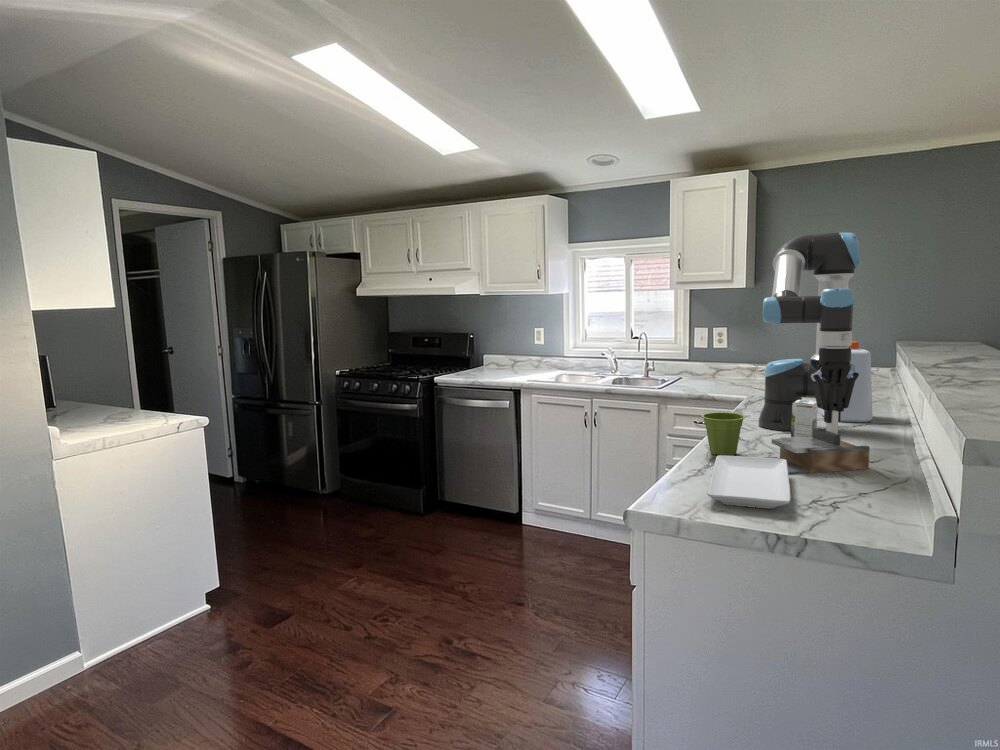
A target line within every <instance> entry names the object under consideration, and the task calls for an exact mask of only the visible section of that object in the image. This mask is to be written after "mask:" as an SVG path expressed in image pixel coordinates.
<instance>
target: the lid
mask: <svg viewBox="0 0 1000 750" xmlns="http://www.w3.org/2000/svg"><path fill="white" fill-rule="evenodd" d="M780 438H781V439H780ZM780 438H771V444H773V445H775V446H777V447H779V448H780V447H782V448H784V449H787V450H789V451H792V452H794V453H807V452H809V449H816V448H833V447H842V445H840V440H841V435H840V434H839V433H838V434H835V433H832V432H829V431H826V429H823V428H819V427H817V428H813V432H812V437H797V438H785V437H780Z"/></svg>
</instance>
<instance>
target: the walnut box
mask: <svg viewBox="0 0 1000 750" xmlns="http://www.w3.org/2000/svg"><path fill="white" fill-rule="evenodd" d="M802 437H812V436H802ZM781 438H782V437H780V438H779V439H781ZM784 438H797V437H791V436H790V437H789V436H787V437H784ZM840 445H842V447H833V448H816V449H809V452H807V453H794V452H792V451H789V450H787V449H784V448H782V447H779V458H780V459H785V460H786V461H787V462H789V463H792V464H794V465H796V466H798V467H800V468H803V469H805V470H807V471H808V472H809V473H813V474H815V473H814V472H816V473H828V472H843V471H857V470H856V469H861V470H869V467H870V446H869V445H855V444H852V443H849V442H847V441H843V440H841V439H840Z"/></svg>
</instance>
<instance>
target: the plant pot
mask: <svg viewBox="0 0 1000 750" xmlns="http://www.w3.org/2000/svg"><path fill="white" fill-rule="evenodd" d="M701 418H702V419H703V421H704V425H705V429H706V437H707V441H708V446H709V447H708V448H709V452H710V454H712V455H713V454H714V455H717V456H735V455H737V452H738V451H737V450H738V446H739V440H740V436H741V435H740V433H741V429H742V426H743V422H744V420H745V418H746V416H745V414H740V413H736V412H728V411H727V412H726V411H725V412H724V411H723V412H721V411H719V412H717V411H716V412H708V413H703V414H701Z"/></svg>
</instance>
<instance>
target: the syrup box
mask: <svg viewBox="0 0 1000 750" xmlns="http://www.w3.org/2000/svg"><path fill="white" fill-rule="evenodd" d="M818 409H819V408H818V407H817V403H816V400H810V399H802V400H797V401H795V402H794V403H793V405H792V424H791V431H790V437H802V436H812V432H813V428H818V427H817V426H818V413H819V411H818Z"/></svg>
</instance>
